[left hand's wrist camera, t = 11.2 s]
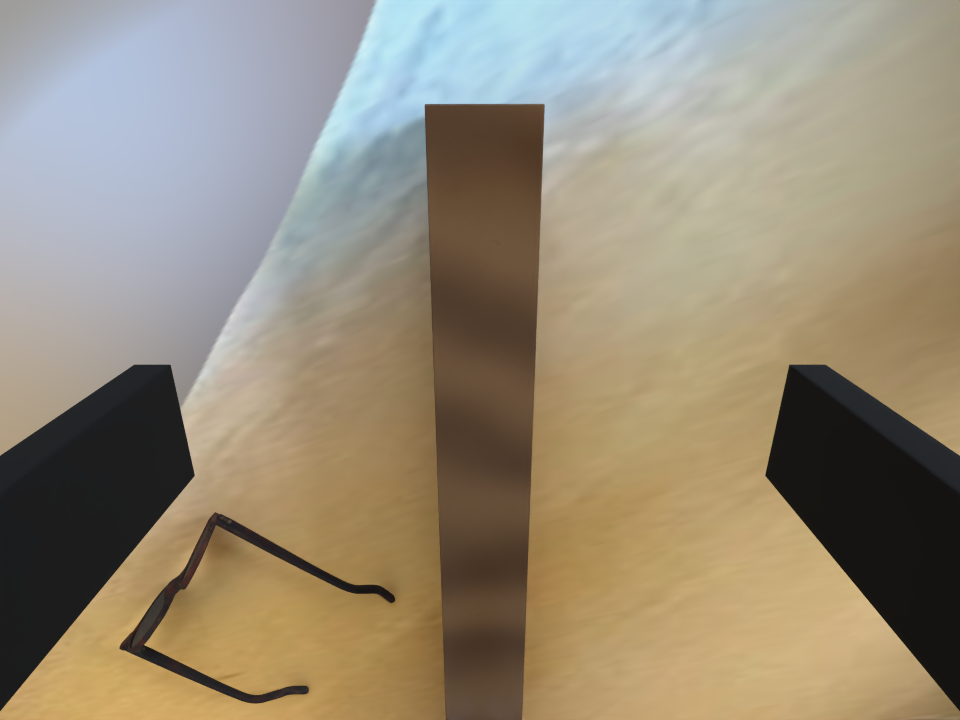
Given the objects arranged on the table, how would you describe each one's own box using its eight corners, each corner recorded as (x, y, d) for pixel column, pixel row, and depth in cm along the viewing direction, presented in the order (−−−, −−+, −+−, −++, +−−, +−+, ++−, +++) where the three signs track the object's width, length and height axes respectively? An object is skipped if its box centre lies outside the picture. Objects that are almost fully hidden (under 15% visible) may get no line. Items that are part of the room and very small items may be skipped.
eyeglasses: (230, 489, 40) (197, 536, 36) (403, 588, 44) (394, 642, 39) (141, 615, 45) (101, 671, 40) (304, 696, 48) (286, 756, 44)
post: (438, 110, 31) (424, 103, 24) (529, 110, 31) (544, 103, 24) (459, 912, 60) (456, 1025, 53) (506, 912, 60) (510, 1025, 53)
